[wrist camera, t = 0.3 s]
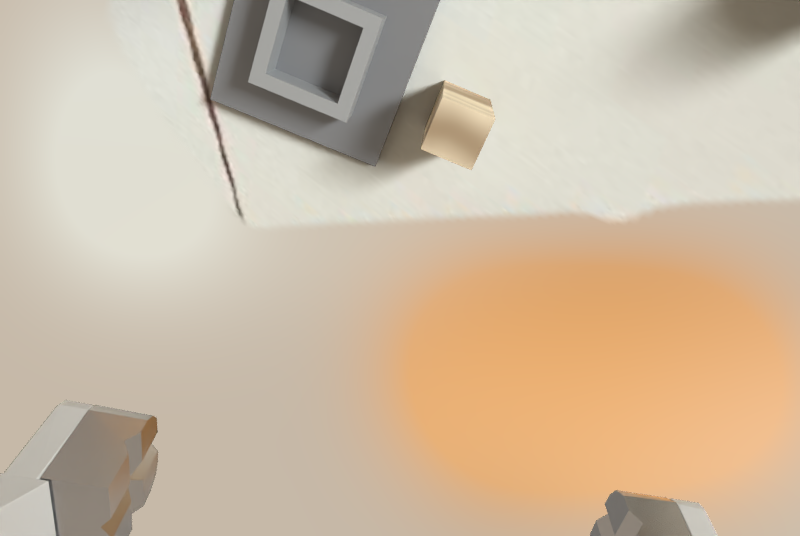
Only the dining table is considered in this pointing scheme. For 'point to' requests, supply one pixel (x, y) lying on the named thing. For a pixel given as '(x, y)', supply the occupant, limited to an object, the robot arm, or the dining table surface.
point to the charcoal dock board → (323, 66)
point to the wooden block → (458, 125)
